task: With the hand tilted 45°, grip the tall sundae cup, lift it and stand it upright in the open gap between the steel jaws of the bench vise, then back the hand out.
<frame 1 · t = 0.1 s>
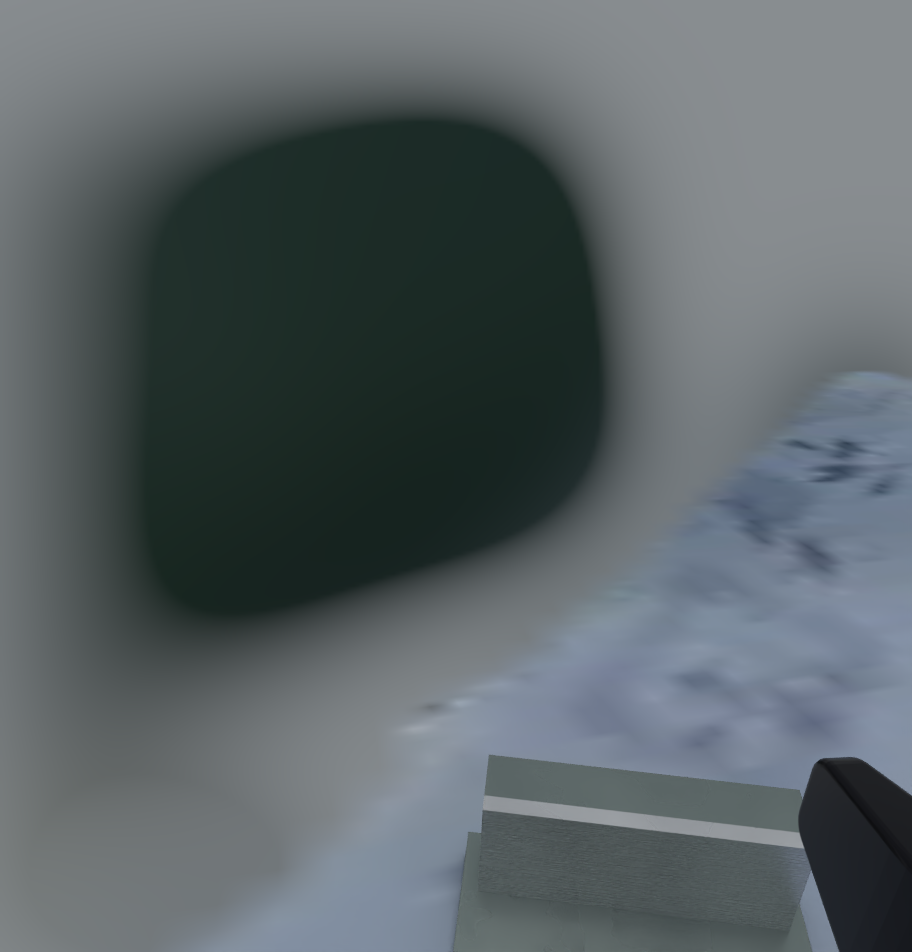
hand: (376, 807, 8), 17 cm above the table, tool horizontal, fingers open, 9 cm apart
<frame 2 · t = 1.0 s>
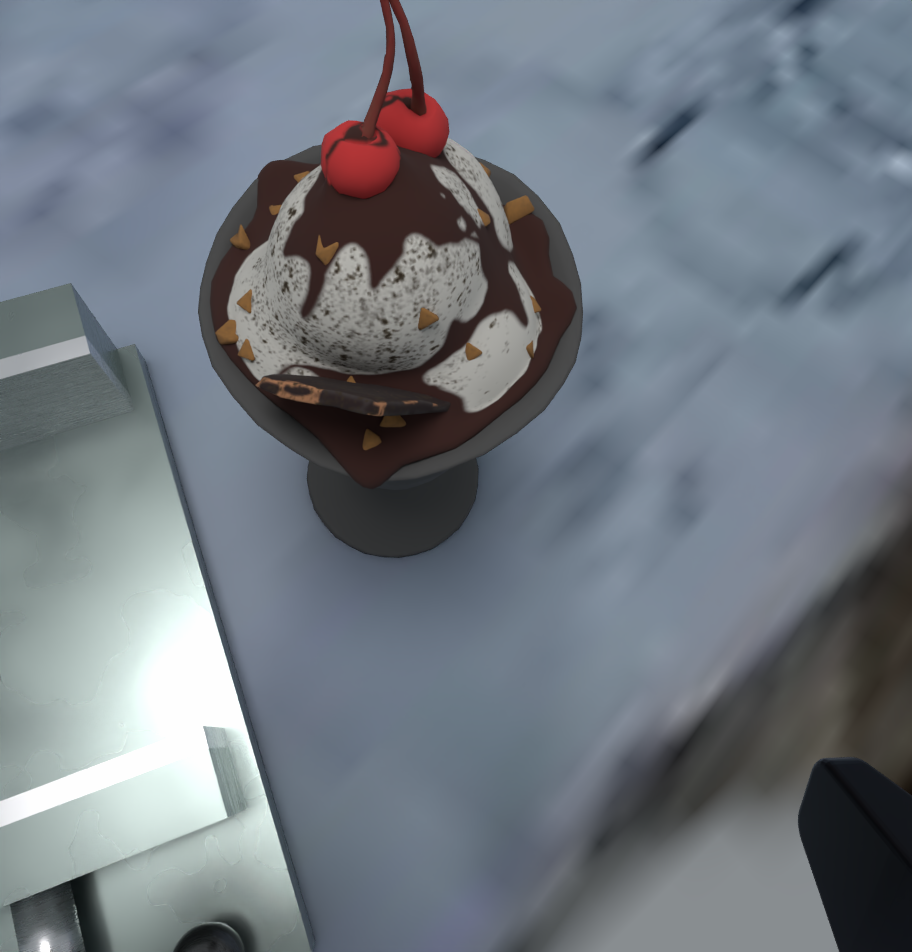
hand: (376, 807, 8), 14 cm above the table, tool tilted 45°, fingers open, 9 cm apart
vise: (17, 624, 22), on the table
sundae: (392, 475, 24), on the table
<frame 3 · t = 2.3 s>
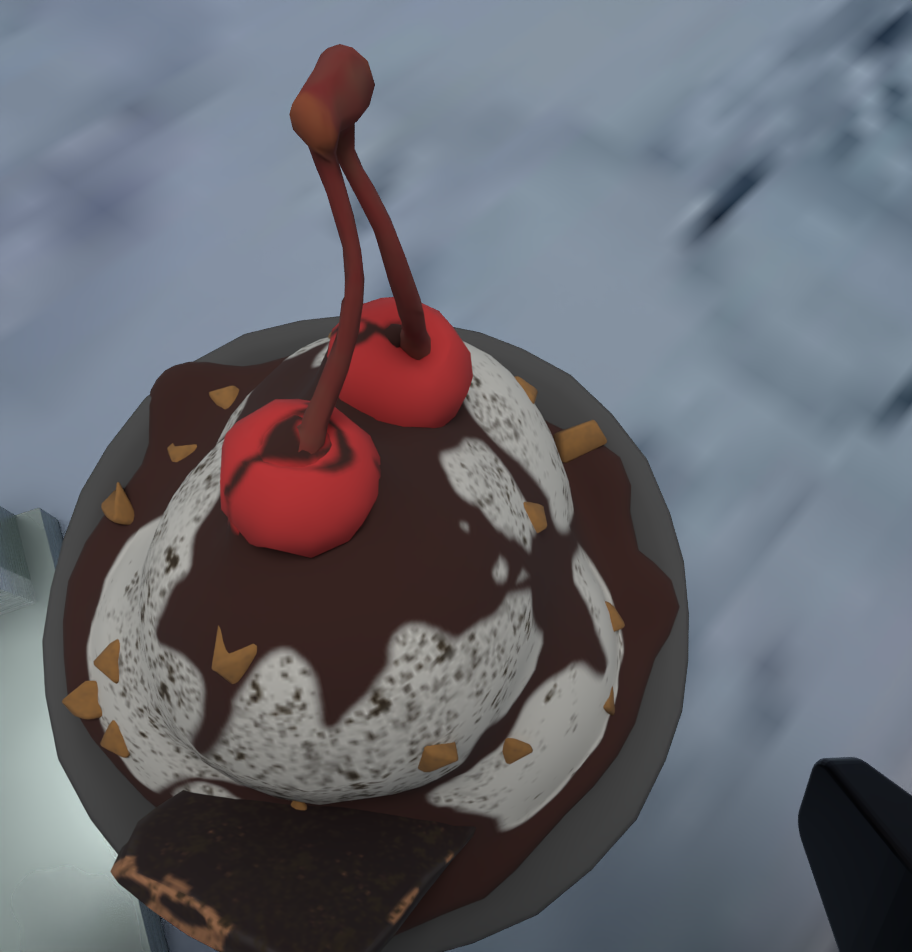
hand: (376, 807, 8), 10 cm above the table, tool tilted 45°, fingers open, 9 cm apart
sundae: (383, 671, 18), on the table
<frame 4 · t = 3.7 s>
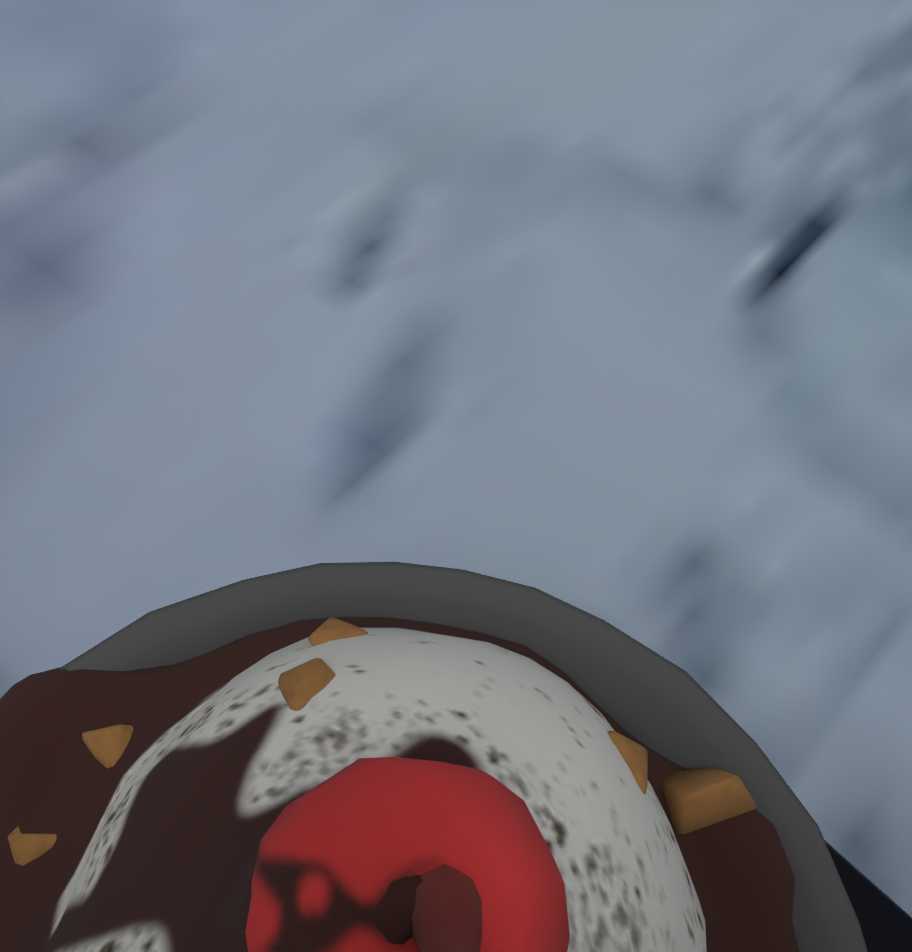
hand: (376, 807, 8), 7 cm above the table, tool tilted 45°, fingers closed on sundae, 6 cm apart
sundae: (383, 855, 15), on the table, touching gripper
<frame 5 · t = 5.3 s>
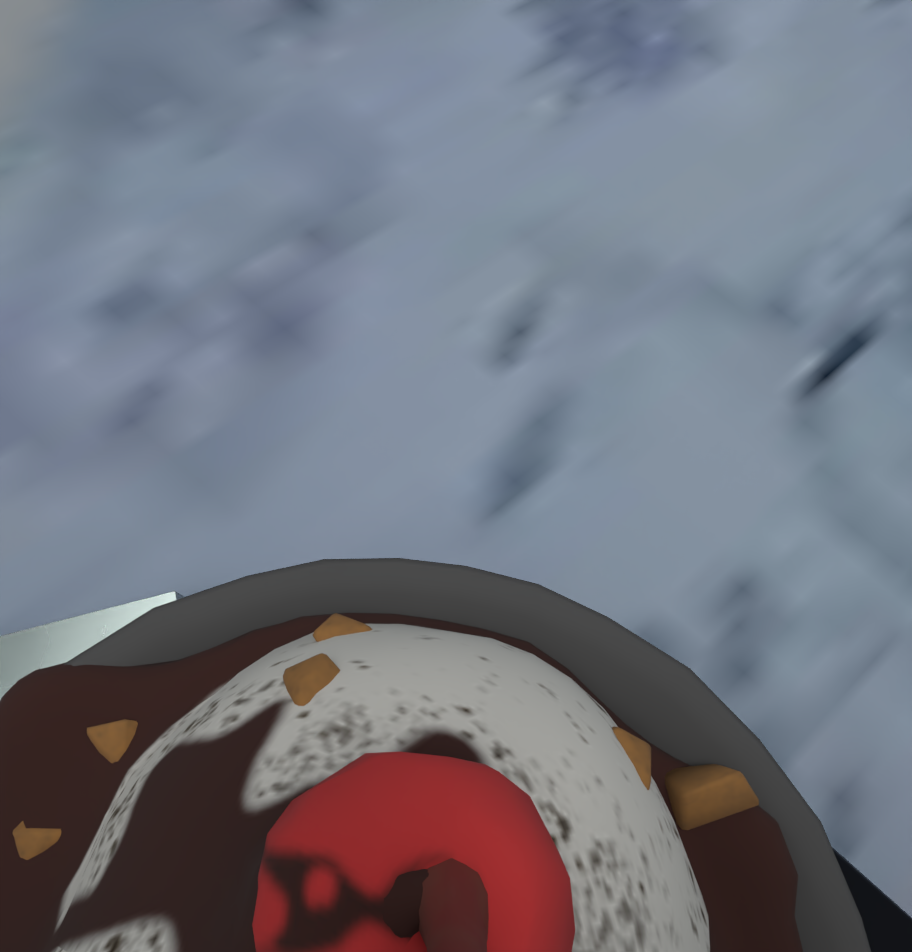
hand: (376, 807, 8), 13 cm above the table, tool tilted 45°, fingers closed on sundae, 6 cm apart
vise: (79, 939, 19), on the table
sundae: (385, 851, 15), point 6 cm above the table, touching gripper
when the fingers open (9 cm above the table, at t = 7.2 s): sundae drops 1 cm, resting on vise.
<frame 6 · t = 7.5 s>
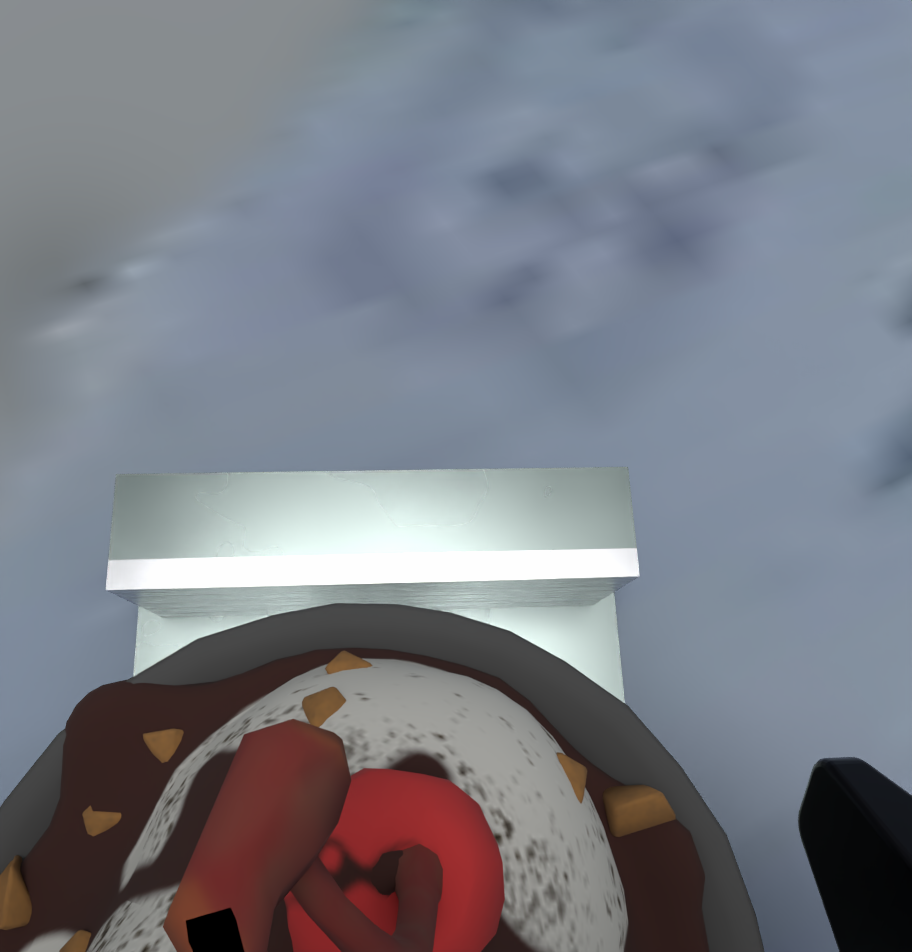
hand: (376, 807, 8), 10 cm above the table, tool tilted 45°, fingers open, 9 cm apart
vise: (385, 837, 17), on the table
sundae: (375, 848, 16), point 1 cm above the table, touching vise
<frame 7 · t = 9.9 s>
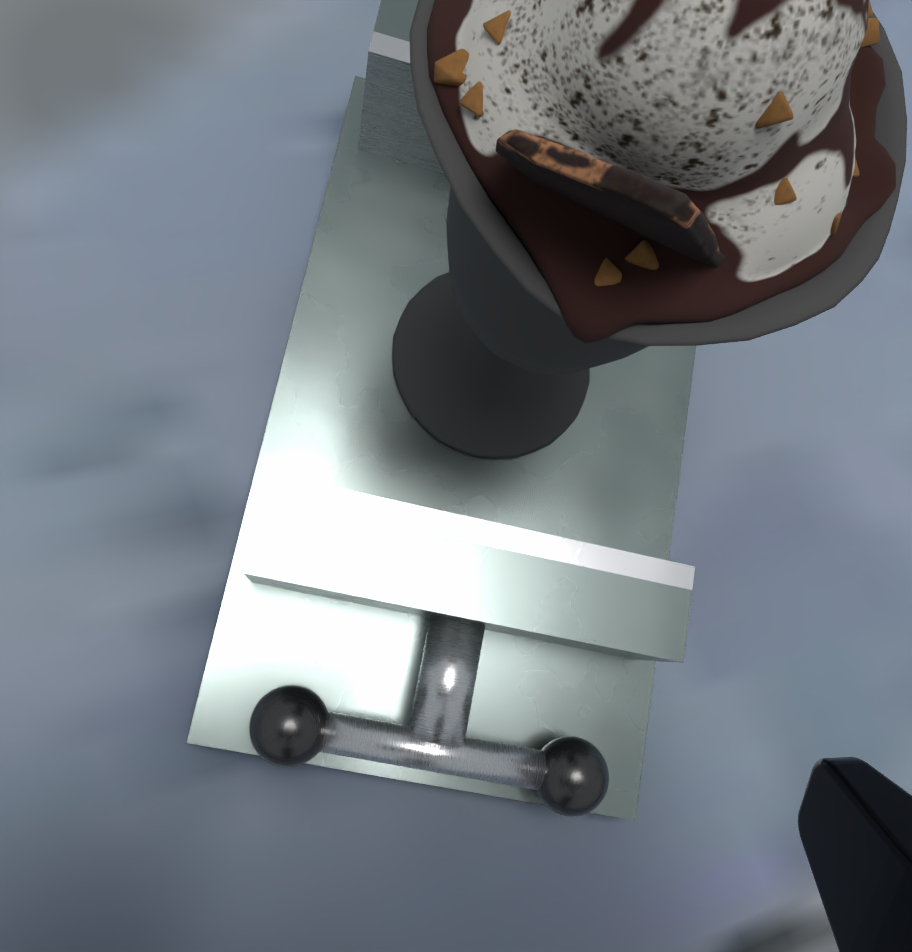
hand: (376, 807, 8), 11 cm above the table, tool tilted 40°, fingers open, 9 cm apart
vise: (490, 370, 21), on the table
sundae: (489, 361, 20), point 1 cm above the table, touching vise
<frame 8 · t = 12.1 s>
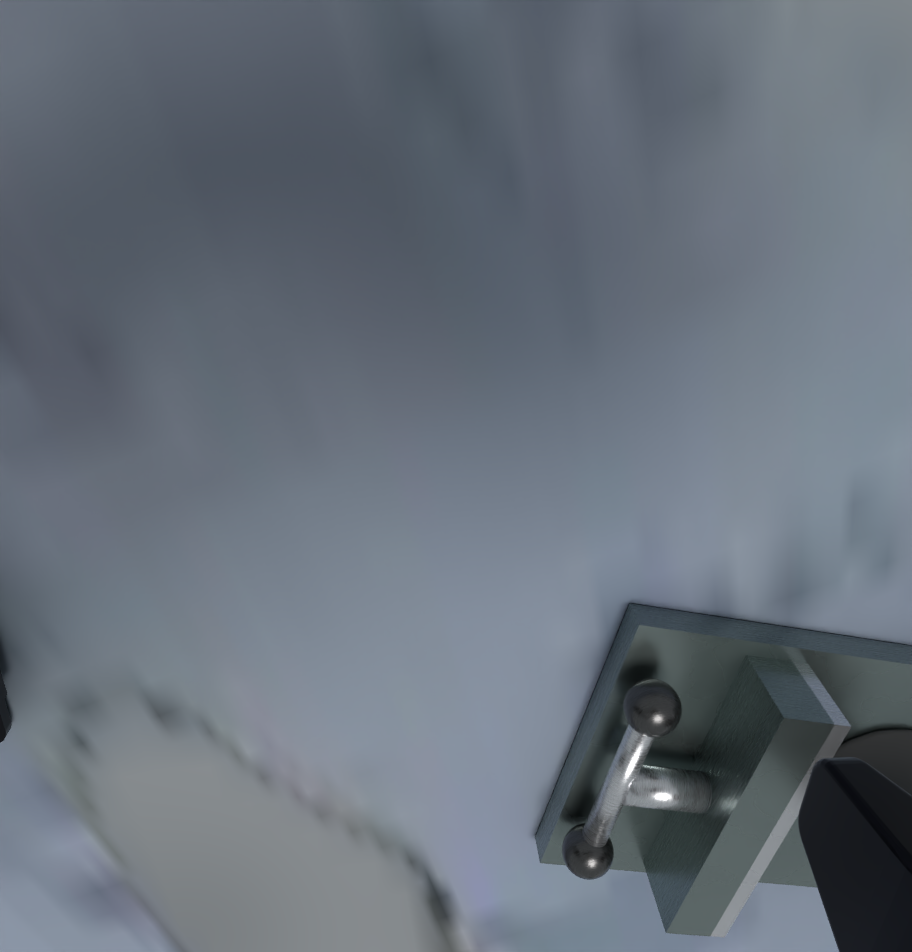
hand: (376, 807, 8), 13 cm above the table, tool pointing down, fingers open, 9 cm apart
vise: (857, 763, 27), on the table
sundae: (870, 778, 27), point 1 cm above the table, touching vise
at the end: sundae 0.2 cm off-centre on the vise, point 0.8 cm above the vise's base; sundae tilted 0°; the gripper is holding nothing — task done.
